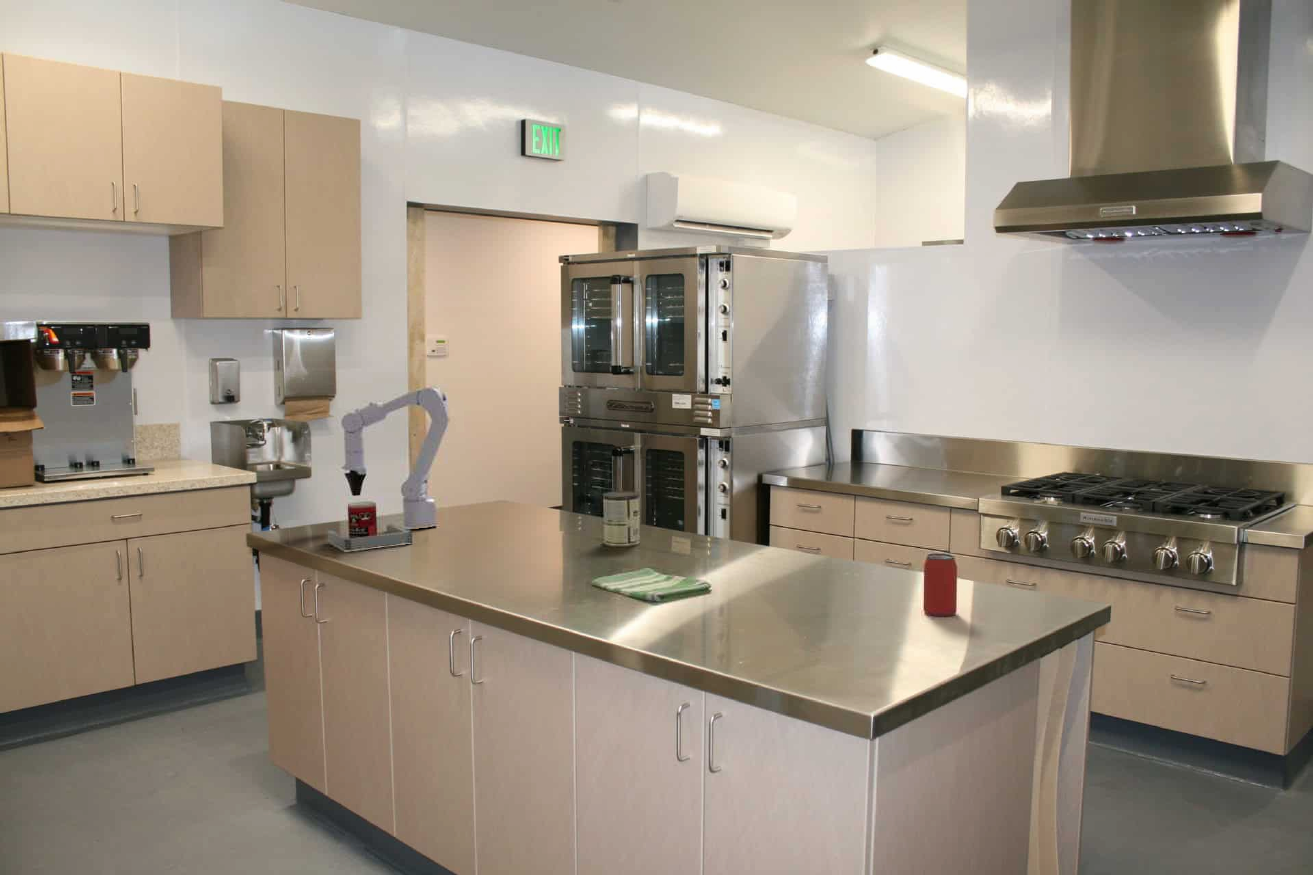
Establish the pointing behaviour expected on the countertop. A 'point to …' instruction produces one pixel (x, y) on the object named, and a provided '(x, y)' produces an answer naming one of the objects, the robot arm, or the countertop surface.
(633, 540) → the coffee can
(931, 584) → the beer can
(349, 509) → the canned food
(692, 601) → the countertop surface
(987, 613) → the countertop surface
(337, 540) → the tray
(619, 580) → the dish towel
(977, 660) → the countertop surface
